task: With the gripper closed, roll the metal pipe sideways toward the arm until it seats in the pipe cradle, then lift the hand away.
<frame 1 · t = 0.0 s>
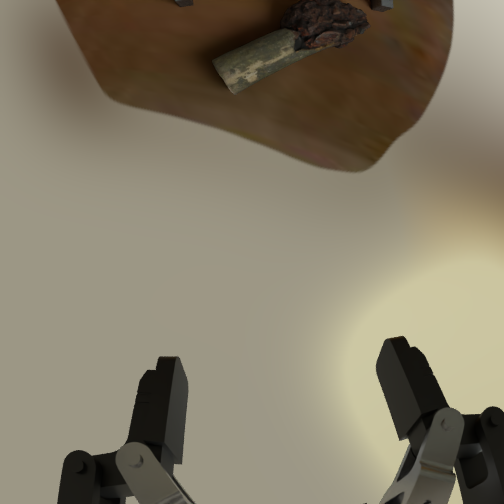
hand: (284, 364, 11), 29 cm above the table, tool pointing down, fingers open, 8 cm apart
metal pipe: (288, 39, 29), on the table
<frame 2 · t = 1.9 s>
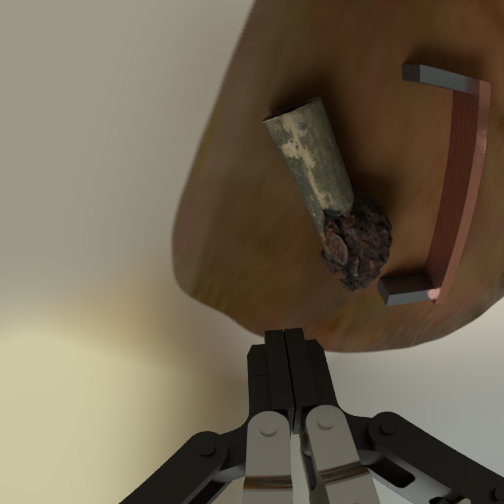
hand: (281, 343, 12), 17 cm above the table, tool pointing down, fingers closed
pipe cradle: (420, 189, 27), on the table
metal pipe: (332, 191, 27), on the table
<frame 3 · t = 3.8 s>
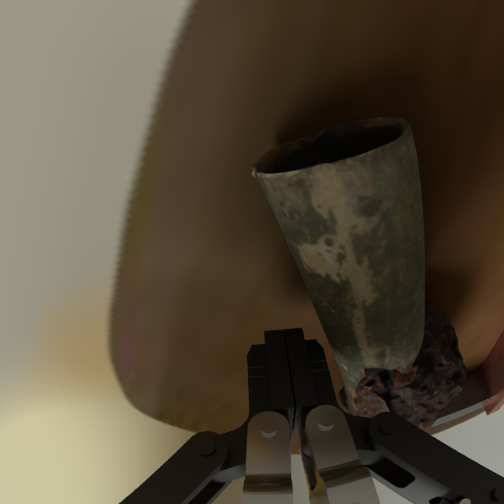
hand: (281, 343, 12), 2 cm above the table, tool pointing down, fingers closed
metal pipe: (375, 297, 14), on the table, touching gripper
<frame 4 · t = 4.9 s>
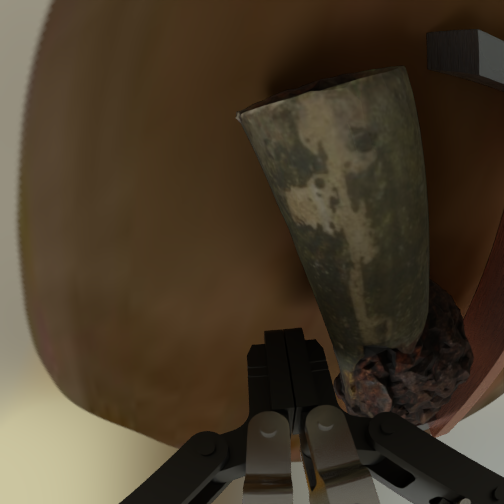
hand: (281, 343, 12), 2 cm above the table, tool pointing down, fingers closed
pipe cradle: (441, 291, 14), on the table
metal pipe: (373, 273, 13), on the table, touching gripper
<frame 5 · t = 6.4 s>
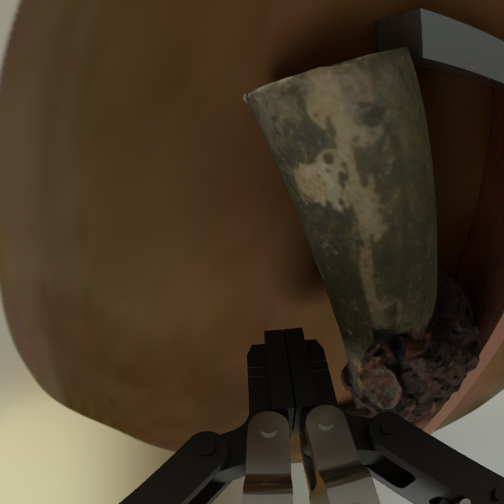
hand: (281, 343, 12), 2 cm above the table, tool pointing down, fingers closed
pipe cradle: (408, 294, 14), on the table
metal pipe: (379, 261, 13), on the table
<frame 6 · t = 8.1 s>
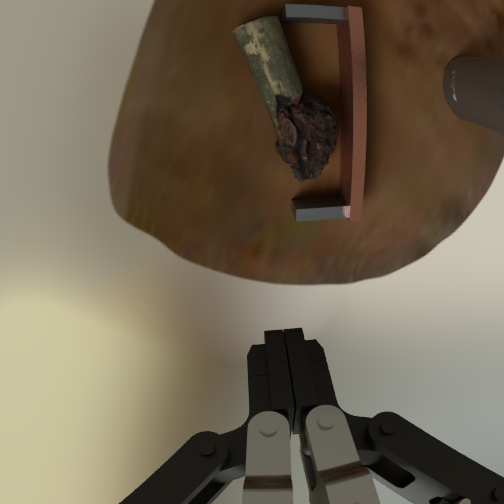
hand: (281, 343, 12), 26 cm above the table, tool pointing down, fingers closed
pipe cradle: (315, 111, 31), on the table
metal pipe: (288, 96, 30), on the table
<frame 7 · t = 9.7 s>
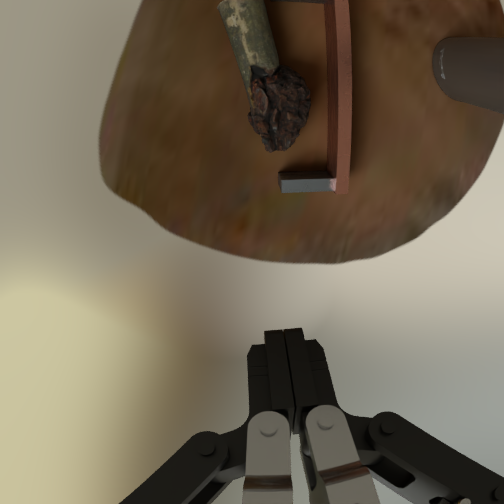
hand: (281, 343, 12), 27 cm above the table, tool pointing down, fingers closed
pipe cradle: (301, 85, 30), on the table
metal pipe: (266, 71, 30), on the table
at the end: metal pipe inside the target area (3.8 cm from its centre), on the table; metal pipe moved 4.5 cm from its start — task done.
